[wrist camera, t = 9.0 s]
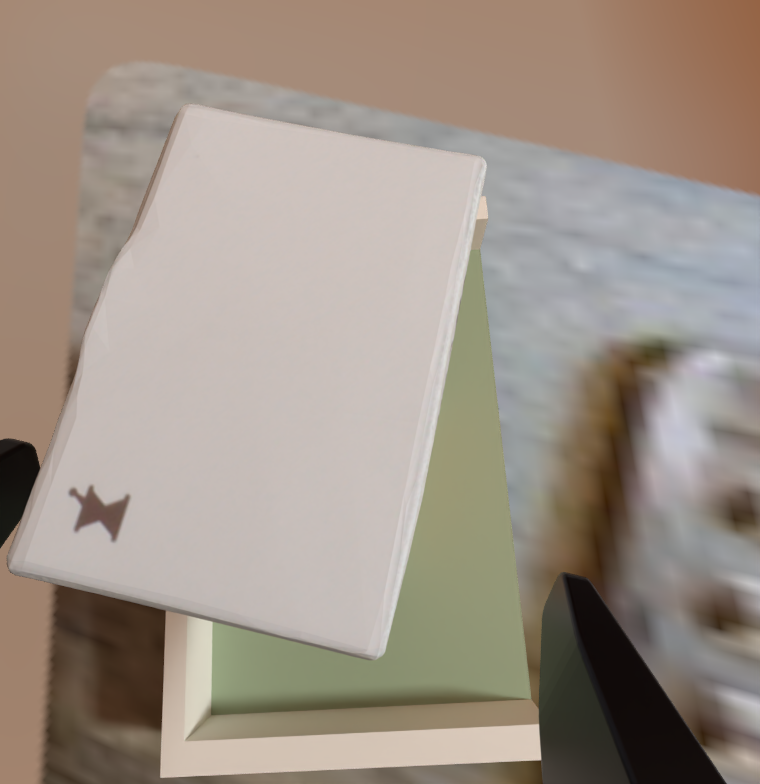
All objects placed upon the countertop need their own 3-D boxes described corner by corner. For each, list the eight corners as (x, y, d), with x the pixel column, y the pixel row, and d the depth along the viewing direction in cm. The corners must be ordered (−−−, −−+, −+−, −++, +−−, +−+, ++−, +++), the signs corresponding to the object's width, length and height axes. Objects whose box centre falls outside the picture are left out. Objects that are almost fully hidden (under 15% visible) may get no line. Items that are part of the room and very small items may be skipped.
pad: (528, 720, 16) (553, 759, 14) (200, 736, 17) (160, 777, 14) (474, 240, 20) (485, 196, 17) (209, 261, 20) (179, 220, 18)
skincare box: (399, 576, 17) (383, 692, 5) (267, 543, 17) (-26, 582, 6) (440, 389, 18) (498, 143, 6) (316, 362, 18) (164, 88, 7)
